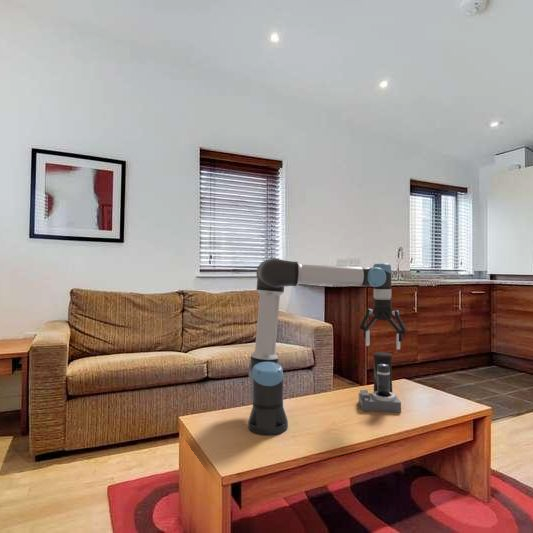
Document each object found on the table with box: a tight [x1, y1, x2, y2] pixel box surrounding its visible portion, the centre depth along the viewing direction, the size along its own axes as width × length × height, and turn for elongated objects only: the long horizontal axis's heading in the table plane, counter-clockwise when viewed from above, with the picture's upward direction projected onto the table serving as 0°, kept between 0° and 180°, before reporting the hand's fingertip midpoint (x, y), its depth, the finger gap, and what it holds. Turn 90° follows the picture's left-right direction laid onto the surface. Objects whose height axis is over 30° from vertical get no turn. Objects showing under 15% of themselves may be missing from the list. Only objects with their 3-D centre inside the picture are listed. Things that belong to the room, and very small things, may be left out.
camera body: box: [358, 389, 402, 413], centre depth 164 cm, size 16×11×6 cm
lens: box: [377, 364, 390, 397], centre depth 164 cm, size 5×5×14 cm
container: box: [372, 351, 393, 393], centre depth 180 cm, size 9×9×20 cm
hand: (382, 347), depth 164 cm, fingers open, 13 cm apart
